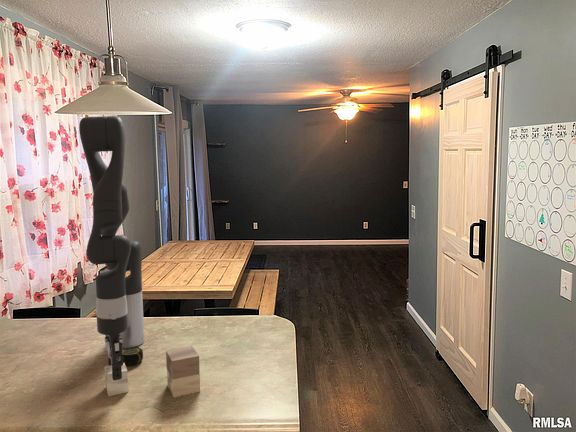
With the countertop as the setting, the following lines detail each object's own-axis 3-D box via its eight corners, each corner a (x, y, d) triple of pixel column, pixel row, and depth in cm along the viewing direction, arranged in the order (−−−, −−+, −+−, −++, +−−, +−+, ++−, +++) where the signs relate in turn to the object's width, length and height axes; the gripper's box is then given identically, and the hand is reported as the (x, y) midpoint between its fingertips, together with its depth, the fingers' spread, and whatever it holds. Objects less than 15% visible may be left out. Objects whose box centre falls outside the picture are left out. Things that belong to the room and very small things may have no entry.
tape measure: (139, 355, 152) (139, 344, 151) (146, 364, 146) (145, 352, 145) (116, 360, 148) (116, 348, 148) (122, 369, 142) (121, 357, 142)
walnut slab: (166, 368, 133) (165, 350, 132) (192, 363, 136) (191, 345, 135) (172, 379, 126) (172, 361, 126) (199, 374, 129) (199, 355, 129)
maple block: (105, 387, 132) (104, 366, 131) (125, 383, 134) (124, 362, 133) (108, 396, 128) (107, 374, 127) (128, 392, 130) (127, 370, 129)
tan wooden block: (167, 385, 133) (166, 368, 133) (193, 380, 136) (192, 363, 136) (173, 397, 127) (172, 379, 126) (200, 391, 130) (199, 374, 129)
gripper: (93, 306, 132) (96, 364, 134) (99, 323, 119) (102, 387, 122) (123, 302, 135) (125, 359, 138) (131, 319, 123) (134, 381, 125)
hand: (115, 372), depth 130 cm, fingers open, 8 cm apart
